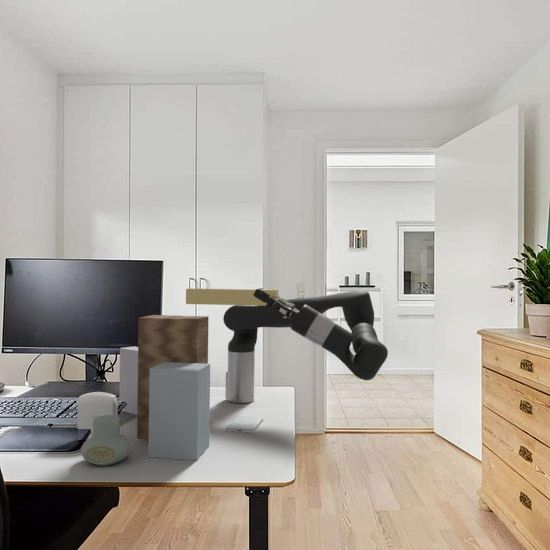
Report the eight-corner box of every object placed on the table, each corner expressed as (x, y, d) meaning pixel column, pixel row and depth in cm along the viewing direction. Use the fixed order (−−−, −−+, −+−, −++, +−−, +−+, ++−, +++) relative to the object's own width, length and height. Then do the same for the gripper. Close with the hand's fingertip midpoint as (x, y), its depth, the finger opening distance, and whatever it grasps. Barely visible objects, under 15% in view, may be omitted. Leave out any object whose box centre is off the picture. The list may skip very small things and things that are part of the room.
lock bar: (185, 304, 137) (186, 288, 137) (190, 303, 141) (190, 288, 141) (275, 305, 134) (275, 290, 134) (278, 304, 138) (278, 289, 138)
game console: (177, 427, 149) (178, 357, 149) (118, 410, 165) (119, 348, 165) (191, 422, 153) (192, 355, 153) (133, 407, 170) (134, 346, 170)
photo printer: (74, 442, 134) (75, 394, 134) (80, 436, 139) (81, 390, 139) (114, 442, 134) (114, 394, 134) (119, 437, 138) (120, 390, 138)
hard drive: (236, 415, 158) (225, 427, 145) (263, 417, 156) (254, 429, 144) (236, 421, 158) (225, 433, 145) (263, 422, 156) (254, 435, 144)
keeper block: (148, 457, 124) (149, 368, 124) (163, 443, 134) (165, 361, 134) (197, 460, 122) (198, 370, 122) (209, 446, 132) (210, 363, 132)
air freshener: (134, 455, 125) (134, 413, 125) (125, 468, 117) (125, 423, 117) (88, 455, 125) (89, 413, 125) (76, 467, 117) (76, 423, 117)
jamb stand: (136, 439, 137) (138, 317, 137) (151, 428, 146) (153, 314, 146) (195, 443, 134) (197, 319, 134) (206, 432, 144) (208, 316, 144)
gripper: (302, 341, 128) (243, 305, 130) (308, 334, 142) (254, 302, 144) (318, 315, 127) (258, 279, 129) (322, 311, 141) (268, 278, 143)
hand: (257, 291), depth 137 cm, fingers closed on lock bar, 4 cm apart
